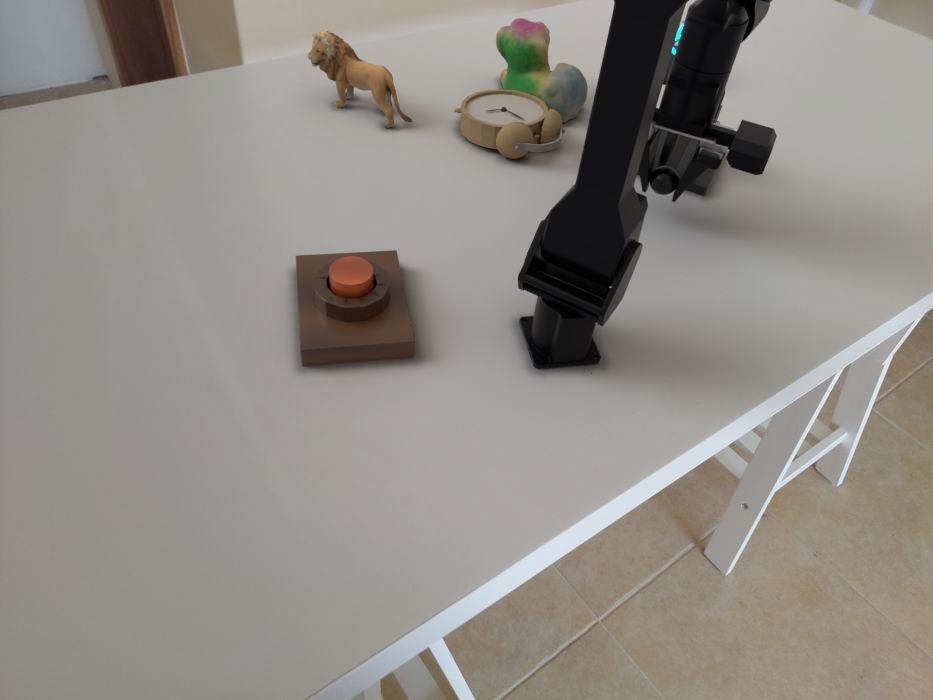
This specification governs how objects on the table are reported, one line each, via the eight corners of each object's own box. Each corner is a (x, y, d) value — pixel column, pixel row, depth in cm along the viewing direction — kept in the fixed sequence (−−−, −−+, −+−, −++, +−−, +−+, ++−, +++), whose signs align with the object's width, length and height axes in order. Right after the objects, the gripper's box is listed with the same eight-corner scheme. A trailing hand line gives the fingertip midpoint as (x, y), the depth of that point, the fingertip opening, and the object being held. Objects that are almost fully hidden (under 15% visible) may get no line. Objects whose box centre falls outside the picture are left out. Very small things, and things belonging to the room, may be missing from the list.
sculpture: (595, 111, 103) (611, 40, 96) (557, 130, 98) (571, 57, 91) (516, 72, 109) (525, 2, 102) (477, 88, 105) (484, 17, 97)
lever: (670, 204, 82) (678, 180, 80) (643, 195, 83) (650, 171, 81) (705, 130, 93) (713, 107, 90) (680, 122, 93) (688, 100, 91)
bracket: (704, 196, 90) (725, 139, 85) (634, 174, 92) (650, 117, 87) (723, 152, 98) (744, 97, 92) (658, 132, 100) (674, 78, 95)
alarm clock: (506, 82, 100) (587, 110, 91) (506, 117, 103) (584, 148, 94) (441, 102, 95) (520, 134, 86) (443, 139, 98) (520, 174, 89)
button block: (413, 357, 67) (415, 326, 64) (302, 366, 65) (298, 335, 62) (396, 266, 76) (396, 235, 73) (297, 272, 74) (294, 240, 71)
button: (375, 297, 67) (375, 283, 66) (331, 300, 66) (330, 285, 65) (371, 269, 70) (371, 255, 69) (328, 271, 69) (327, 257, 68)
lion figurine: (304, 103, 98) (299, 35, 91) (326, 87, 101) (322, 20, 95) (402, 134, 94) (404, 66, 88) (421, 116, 98) (424, 49, 91)
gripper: (808, 57, 76) (752, 187, 87) (635, 12, 80) (603, 141, 91) (794, 99, 68) (735, 235, 79) (604, 47, 73) (573, 183, 84)
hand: (659, 195), depth 84 cm, fingers closed on lever, 3 cm apart
